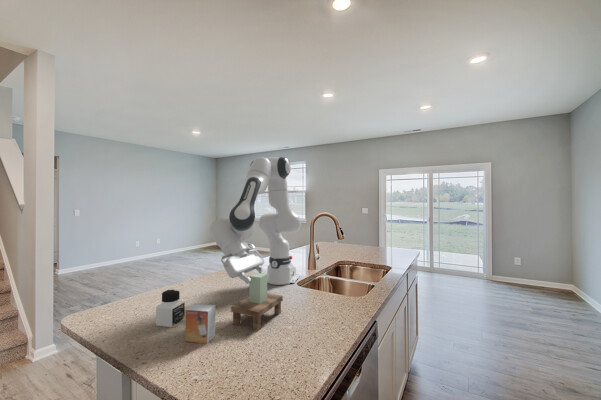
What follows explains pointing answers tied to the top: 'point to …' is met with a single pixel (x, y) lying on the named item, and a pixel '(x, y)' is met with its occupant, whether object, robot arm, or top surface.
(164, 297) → the medicine bottle
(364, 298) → the top surface
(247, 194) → the robot arm
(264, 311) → the stool
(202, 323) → the small box
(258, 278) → the green block
